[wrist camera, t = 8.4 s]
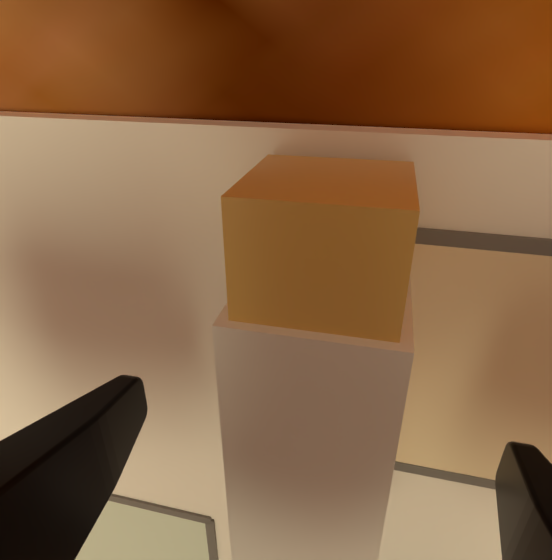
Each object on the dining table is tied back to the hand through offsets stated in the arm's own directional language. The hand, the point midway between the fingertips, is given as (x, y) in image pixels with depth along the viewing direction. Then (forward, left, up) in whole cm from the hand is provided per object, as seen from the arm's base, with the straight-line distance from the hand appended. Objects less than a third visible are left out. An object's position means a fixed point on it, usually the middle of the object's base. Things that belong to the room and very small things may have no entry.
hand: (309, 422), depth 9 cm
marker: (0, 0, -2) cm, 2 cm away
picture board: (-5, +2, -3) cm, 6 cm away
